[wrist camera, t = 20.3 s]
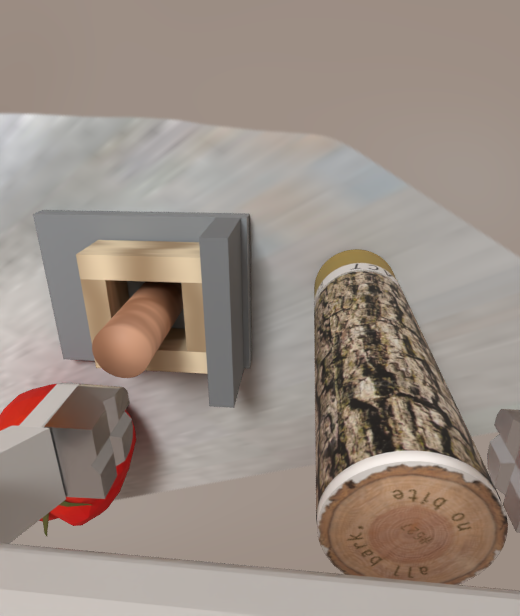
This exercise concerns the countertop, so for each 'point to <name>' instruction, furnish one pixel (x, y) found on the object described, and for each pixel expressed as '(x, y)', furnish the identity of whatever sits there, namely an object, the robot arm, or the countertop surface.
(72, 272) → the slate track
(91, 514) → the tomato
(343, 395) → the wooden log
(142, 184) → the countertop surface
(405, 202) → the countertop surface
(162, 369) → the square wooden frame
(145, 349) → the dowel
